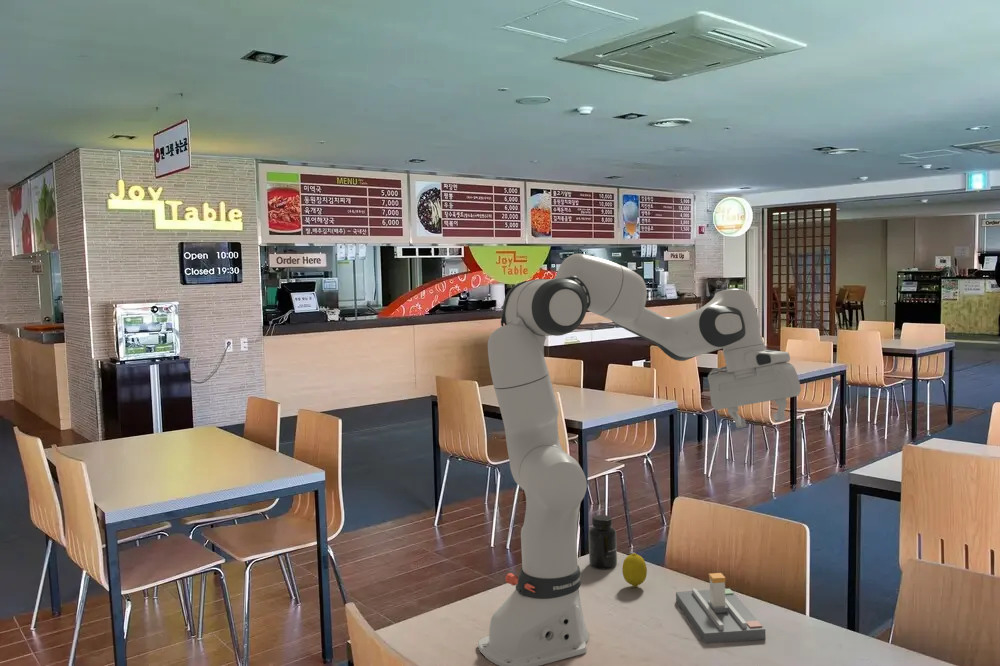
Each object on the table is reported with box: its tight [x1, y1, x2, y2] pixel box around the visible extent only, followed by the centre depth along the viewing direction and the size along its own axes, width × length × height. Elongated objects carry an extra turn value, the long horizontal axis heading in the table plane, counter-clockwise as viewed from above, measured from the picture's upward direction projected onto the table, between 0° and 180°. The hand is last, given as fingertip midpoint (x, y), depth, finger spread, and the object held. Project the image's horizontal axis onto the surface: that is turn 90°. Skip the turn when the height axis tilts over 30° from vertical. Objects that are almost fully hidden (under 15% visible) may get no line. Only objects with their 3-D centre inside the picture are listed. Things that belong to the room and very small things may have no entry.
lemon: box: [621, 552, 648, 588], centre depth 181 cm, size 6×6×8 cm
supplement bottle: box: [588, 514, 618, 570], centre depth 195 cm, size 7×7×12 cm
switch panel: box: [675, 587, 766, 644], centre depth 163 cm, size 20×12×3 cm, turn 3°
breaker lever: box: [708, 572, 728, 613], centre depth 163 cm, size 4×3×7 cm
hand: (760, 424), depth 170 cm, fingers open, 8 cm apart
